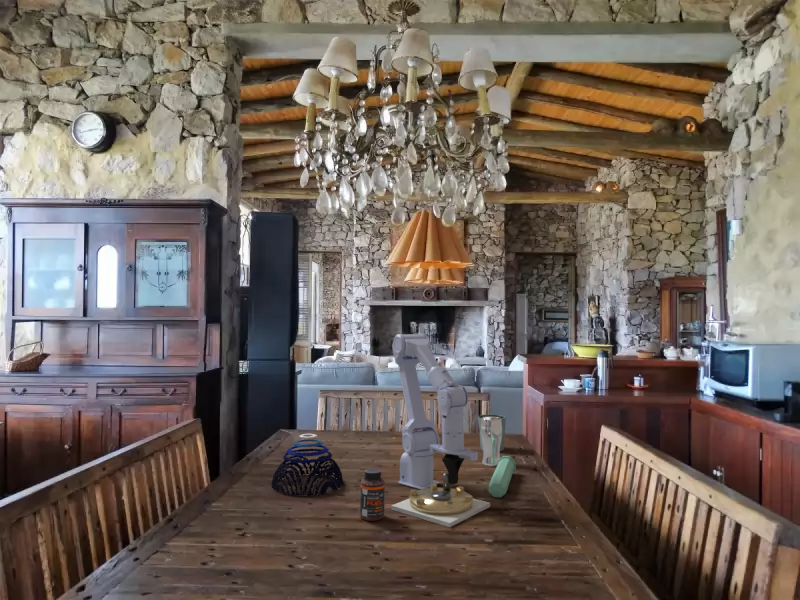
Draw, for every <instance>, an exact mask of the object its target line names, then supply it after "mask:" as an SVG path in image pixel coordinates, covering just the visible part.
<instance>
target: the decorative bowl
mask: <svg viewBox="0 0 800 600" xmlns="http://www.w3.org/2000/svg"><path fill="white" fill-rule="evenodd" d="M298 437H299V438H301V439H300V440H296V441H295V442H293V443H292V445H293V446H291V447H288V448H287V450H286V452H285V453H284V455H283V457H282V460H283V461H282V462H281V463H280V464H279V466H278V467H277V469H276V470H275V472H274V473H273V476H272V481H271V489H272V488H273V489H274V490H276V491H277V492H278V489H280V493H283V494H288V495H287V496H290V495H317V494H321V495H325V494H324V493H327V491H328V489H329V488H330V489H331V491H334V490H336V491H337V489H338V488H340V489H341V488H342V487H343V484H344V479H343V474H342V471H341V468H340V466H339V465H338V463H337V462H336V460H335V459H333V458H332V456H333V454H332V453H331V452H330V450H329V448H328V447H327V446H325V445H324V442H323V441H321V440H319V439H316V437H318V434H316V433H315V434H314V433H303V434H300V435H298ZM314 438H315V439H314ZM301 442H315V443H305V444H302V443H301ZM315 447H316V448H315ZM298 448H299V449H298ZM325 454H327V455H325ZM289 455H290V456H289ZM288 456H289V457H288ZM315 456H316V457H317V456H318V457H317V458H311V459H308V458H306V457H315ZM312 463H313V465H312ZM300 464H302V465H300ZM302 466H303V467H302ZM308 466H309V467H308ZM288 469H289V470H288ZM304 469H305V470H304ZM303 474H305V475H306V474H309V475H307V478H306V479H305V482H304V484H303V481H302V478H301V476H300V475H303ZM316 474H318V475H316ZM294 475H295V476H296V477H295V476H294ZM321 475H323V476H321ZM328 476H330V477H328ZM289 477H291V478H289ZM334 477H335V478H334ZM282 478H286V479H284V480H282ZM312 478H313V479H312ZM336 478H337V479H336ZM290 479H291V480H292V482H291V480H290ZM311 479H312V480H311ZM285 480H286V482H285ZM326 480H327V481H326ZM277 482H278V483H277ZM279 482H281V483H283V485H284V486H285V489H284V486H283V485H282V484H280V483H279ZM292 483H293V485H292ZM310 483H311V484H310ZM309 485H310V486H309ZM288 486H289V487H288ZM293 486H294V487H293ZM341 486H342V487H341ZM308 487H309V488H308ZM294 488H295V489H294ZM273 489H272V490H273ZM274 490H273V491H274ZM285 490H286V492H285ZM338 490H339V489H338ZM290 492H291V493H290ZM299 492H300V493H299ZM334 492H335V491H334ZM283 494H282V495H283ZM317 496H318V495H317Z"/></svg>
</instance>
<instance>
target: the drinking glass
mask: <svg viewBox="0 0 800 600" xmlns="http://www.w3.org/2000/svg"><path fill="white" fill-rule="evenodd" d="M488 416H491V417H499V418H501V422H502V439H501V445H500V451H501V452H504V450H505V436H506V435H505V433H506V420H507V418H506V416H505V415H502V414H494V413H488V414H487V413H486V414H480V415H478V416H477V421H478V430H479V441H480V442H479V443H480V450H481V451H483V444H482V438H481V420H482V417H488Z"/></svg>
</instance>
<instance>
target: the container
mask: <svg viewBox="0 0 800 600" xmlns="http://www.w3.org/2000/svg"><path fill="white" fill-rule="evenodd" d="M516 465H517V463H516V461H515V460H514V459H513V457H511V456H509V455H508V456H507V455H502V456H501V457H500V459H499V460H498V465H497V466H495V467H496V468H495V470H494V472H493V474H492V476H491V479H490V481H489V482H488V493H489V494H490V495H491V496H492V497H494V498H503V496H505V495H506V494H507V491H508V488H509V485H510V483H511V479H512V476H513V473H514V472H515V471H516V467H517V466H516Z"/></svg>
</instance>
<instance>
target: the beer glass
mask: <svg viewBox="0 0 800 600" xmlns="http://www.w3.org/2000/svg"><path fill="white" fill-rule="evenodd" d="M481 438H482V444H483V450H482V451H483V456H482V460H481V461H482V465H485V466H487V467H488V466H489V467H497V465H498V460H499V459H500V458H501V457H500V455H501V454H500V445H501V439H502V422H501V418H499V417H491V416H488V417H482V420H481Z"/></svg>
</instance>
